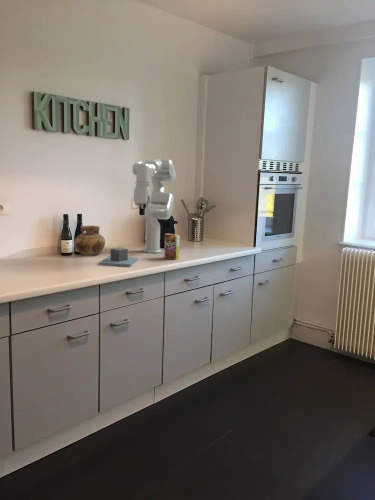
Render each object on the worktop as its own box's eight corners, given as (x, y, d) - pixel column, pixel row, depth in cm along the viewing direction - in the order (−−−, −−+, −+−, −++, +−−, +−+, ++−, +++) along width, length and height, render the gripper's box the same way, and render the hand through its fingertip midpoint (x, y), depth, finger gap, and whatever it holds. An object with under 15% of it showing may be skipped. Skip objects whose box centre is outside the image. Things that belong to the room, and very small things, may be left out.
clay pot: (101, 253, 266) (89, 222, 264) (75, 262, 271) (63, 232, 269) (113, 248, 285) (102, 219, 282) (88, 256, 289) (77, 228, 287)
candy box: (163, 258, 275) (164, 233, 272) (167, 256, 279) (168, 233, 276) (175, 259, 271) (176, 235, 268) (179, 258, 274) (180, 234, 272)
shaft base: (109, 258, 268) (109, 248, 267) (137, 260, 266) (138, 250, 265) (98, 265, 248) (98, 254, 247) (130, 266, 246) (130, 256, 245)
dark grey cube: (110, 259, 256) (110, 248, 255) (119, 258, 262) (119, 247, 260) (119, 261, 252) (119, 250, 251) (127, 259, 257) (127, 248, 256)
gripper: (129, 183, 264) (128, 214, 267) (147, 185, 255) (147, 216, 258) (137, 183, 270) (137, 213, 273) (156, 185, 261) (155, 215, 264)
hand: (142, 214), depth 266 cm, fingers closed
